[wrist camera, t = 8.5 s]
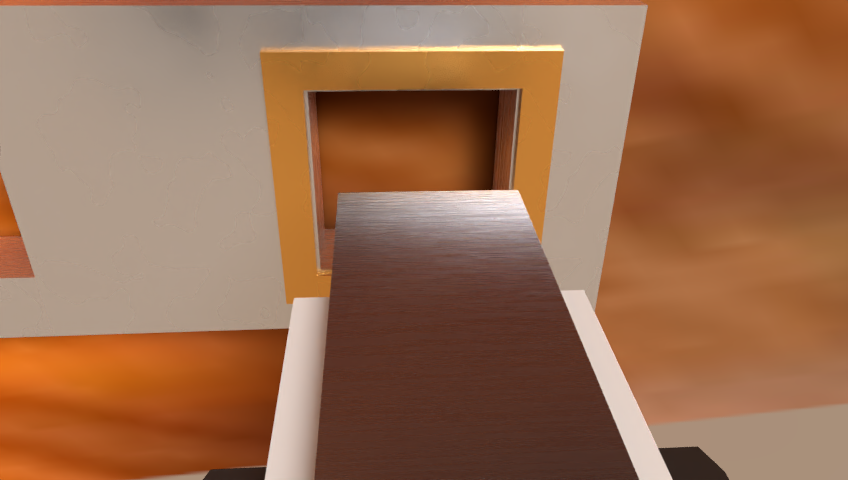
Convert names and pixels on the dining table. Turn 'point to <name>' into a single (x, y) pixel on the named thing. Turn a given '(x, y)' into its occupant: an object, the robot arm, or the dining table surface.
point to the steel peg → (455, 349)
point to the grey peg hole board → (272, 143)
